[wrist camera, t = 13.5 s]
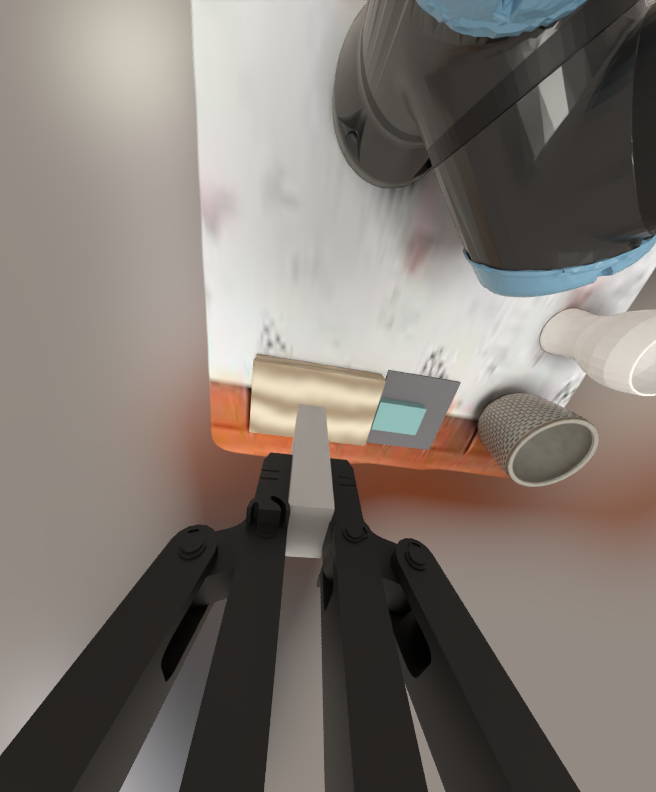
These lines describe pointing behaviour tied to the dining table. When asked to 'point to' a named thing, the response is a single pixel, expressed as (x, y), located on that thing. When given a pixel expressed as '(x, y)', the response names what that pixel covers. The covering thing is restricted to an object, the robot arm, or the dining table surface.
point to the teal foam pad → (398, 416)
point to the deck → (313, 397)
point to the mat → (421, 391)
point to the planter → (536, 439)
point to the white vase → (607, 347)
